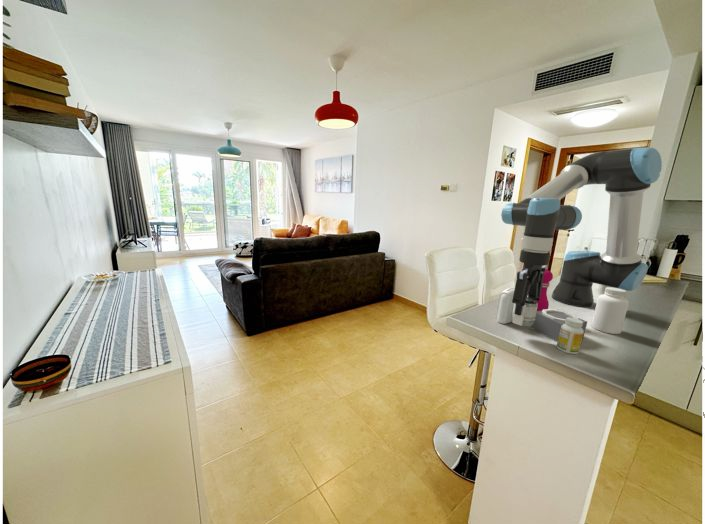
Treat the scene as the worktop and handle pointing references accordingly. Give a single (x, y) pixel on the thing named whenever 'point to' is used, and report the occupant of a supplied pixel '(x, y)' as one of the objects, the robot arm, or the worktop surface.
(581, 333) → the supplement bottle
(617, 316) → the pill bottle
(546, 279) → the pepper mill
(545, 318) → the grey block with ring
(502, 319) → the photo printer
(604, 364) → the worktop surface
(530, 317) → the camera lens
